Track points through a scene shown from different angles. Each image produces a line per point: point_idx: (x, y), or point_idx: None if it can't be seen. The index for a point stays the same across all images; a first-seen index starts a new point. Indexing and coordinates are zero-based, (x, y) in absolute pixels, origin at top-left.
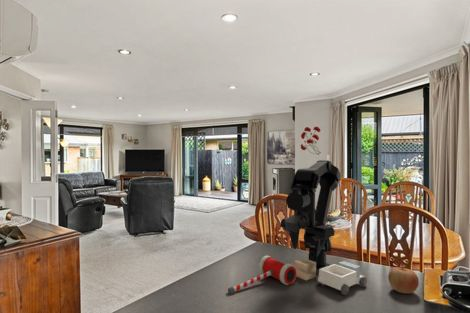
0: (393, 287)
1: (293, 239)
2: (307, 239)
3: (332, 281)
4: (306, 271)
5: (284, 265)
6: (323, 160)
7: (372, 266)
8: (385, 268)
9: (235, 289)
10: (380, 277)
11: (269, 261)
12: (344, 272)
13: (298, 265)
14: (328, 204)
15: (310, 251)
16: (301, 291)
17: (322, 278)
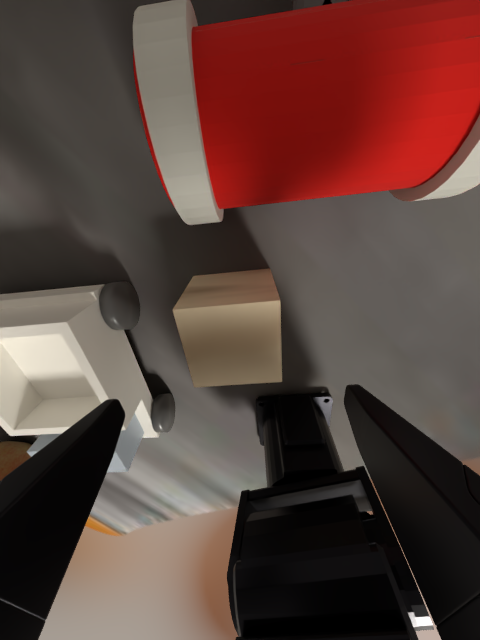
0: (6, 446)
1: (416, 478)
2: (350, 541)
3: (13, 309)
4: (182, 294)
5: (181, 51)
6: None
7: (195, 502)
8: (170, 510)
9: None
10: (124, 472)
11: (435, 19)
12: (73, 409)
13: (243, 294)
14: None
15: (321, 457)
16: (76, 139)
17: (75, 301)
